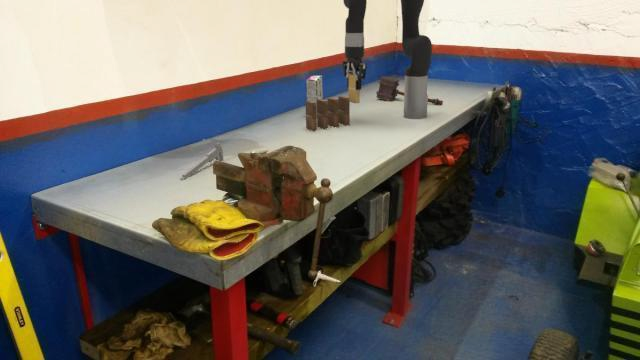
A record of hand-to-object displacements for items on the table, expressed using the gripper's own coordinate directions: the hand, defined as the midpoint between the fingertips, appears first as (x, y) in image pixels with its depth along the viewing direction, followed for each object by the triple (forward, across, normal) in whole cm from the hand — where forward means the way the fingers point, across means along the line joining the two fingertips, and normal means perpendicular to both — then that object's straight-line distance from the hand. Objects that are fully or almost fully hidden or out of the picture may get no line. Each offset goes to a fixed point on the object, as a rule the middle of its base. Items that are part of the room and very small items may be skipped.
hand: (354, 88), depth 202 cm
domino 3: (+14, 0, -10) cm, 17 cm away
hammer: (+14, -18, +44) cm, 50 cm away
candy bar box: (+14, -20, -7) cm, 26 cm away
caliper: (+15, +23, -71) cm, 76 cm away
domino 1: (+14, 0, -20) cm, 24 cm away
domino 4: (+14, 0, -5) cm, 15 cm away
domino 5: (+6, 0, 0) cm, 6 cm away
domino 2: (+14, 0, -15) cm, 20 cm away
